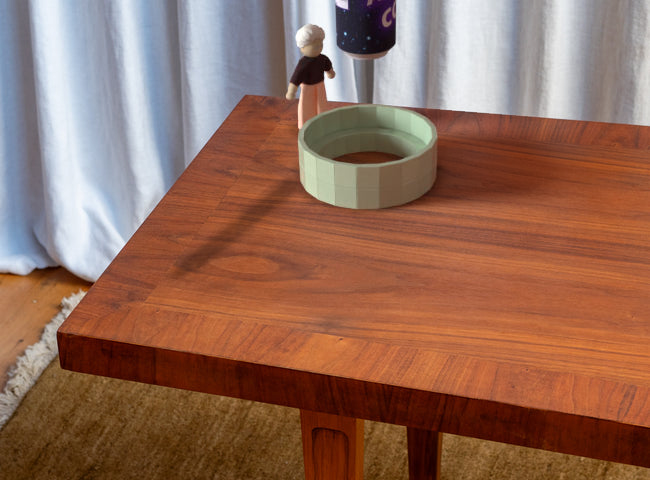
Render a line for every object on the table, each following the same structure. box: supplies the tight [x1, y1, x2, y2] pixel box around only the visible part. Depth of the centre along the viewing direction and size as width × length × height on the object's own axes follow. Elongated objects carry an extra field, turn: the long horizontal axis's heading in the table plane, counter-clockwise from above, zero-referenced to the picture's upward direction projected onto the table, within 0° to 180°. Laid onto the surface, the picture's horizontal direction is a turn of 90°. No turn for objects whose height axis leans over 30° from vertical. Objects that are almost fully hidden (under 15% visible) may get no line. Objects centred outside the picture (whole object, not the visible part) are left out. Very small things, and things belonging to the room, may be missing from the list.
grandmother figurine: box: [285, 23, 337, 130], centre depth 100 cm, size 8×4×13 cm, turn 150°
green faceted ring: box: [297, 103, 439, 210], centre depth 92 cm, size 14×14×6 cm
